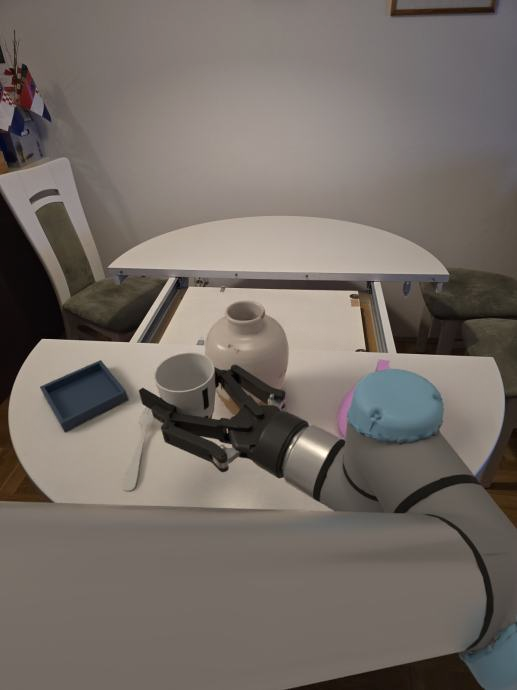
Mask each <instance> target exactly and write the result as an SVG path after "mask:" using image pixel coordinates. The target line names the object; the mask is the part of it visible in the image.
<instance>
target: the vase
mask: <svg viewBox="0 0 517 690" xmlns="http://www.w3.org/2000/svg"><path fill="white" fill-rule="evenodd" d="M289 348H290V347H289V342H288V337H287V335H286V332H285V330H284V327H283V326H282V325H281V323H280V322H278V320H276V319H275V318H273V317H272V316H270V315H268V314H266V310H265V308H264V306H263V304H261V303H260V302H256V301H253V300H238V301H235V302H232V303H231V304H229V305H228V306H227V307H225V311H224V316H223V317H221V318H219V319H218V320H217V321H215V322H214V323H213V325H212V326H211V327H210V329H209V331H208V332H207V335H206V338H205V344H204V355H205V356H206V357H208V358H209V359H210V360H211V361H212V362H213V364H214V367H216V368H218V369H220V370H229V369H231V366H232V365H238V366H240V367H241V368H243V369H244V370H246V371H247V372H249V373H250V374H252V375H254V376H255V377H257V378H258V379H260V380H261V381H263V382H264V383H266V384H267V385H269V386H271V387H273V388H276V389H280V390H282V388H283V386H284V382H285V379H286V375H287V370H288V365H289V358H290V357H289V356H290V349H289ZM241 388H242V387H241ZM242 389H243V388H242ZM243 390H244V391H245V392H246V394H247V395H250V396H251V397H252V398H253V399H254V400H255V402H256V403H257V404H258V405H267V404H265V403H264V402H262V401H261V400H259V399H258V398H256V397H255V396H253V395H252V394H250V393H249V392H248V391H246V390H245V389H243ZM216 395H217V396H218V398H219V399H220V401H221V402H222V404H223V405H224V407H225V408H226V409H227V410H228V411H229V412H230V413H231V414H232V415H234V416H235V415H237V414H238V412H239V410H240V409H239V408H238V407H237V405H236V404H235V403H234V402H233V400H232V399H231V398H230V397H229V395H228V394H227V393H226V392H225V390H224V389H223V388H222V389H221V384H220V383H219V386H218V387H217V388H216Z"/></svg>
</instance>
